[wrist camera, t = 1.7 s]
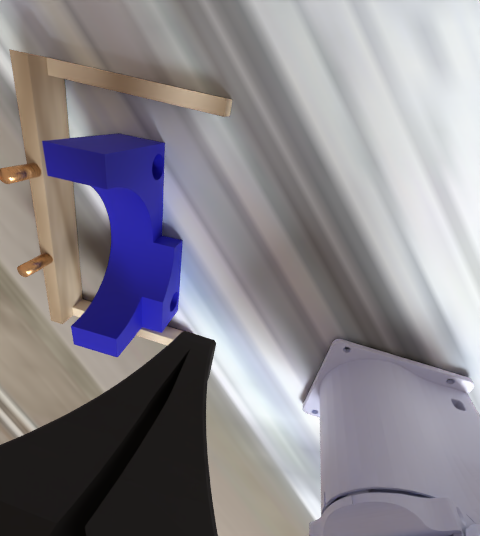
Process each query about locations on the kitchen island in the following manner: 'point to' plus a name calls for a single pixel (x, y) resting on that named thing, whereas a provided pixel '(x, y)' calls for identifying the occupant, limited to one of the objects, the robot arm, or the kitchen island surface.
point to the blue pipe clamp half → (124, 236)
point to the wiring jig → (61, 191)
